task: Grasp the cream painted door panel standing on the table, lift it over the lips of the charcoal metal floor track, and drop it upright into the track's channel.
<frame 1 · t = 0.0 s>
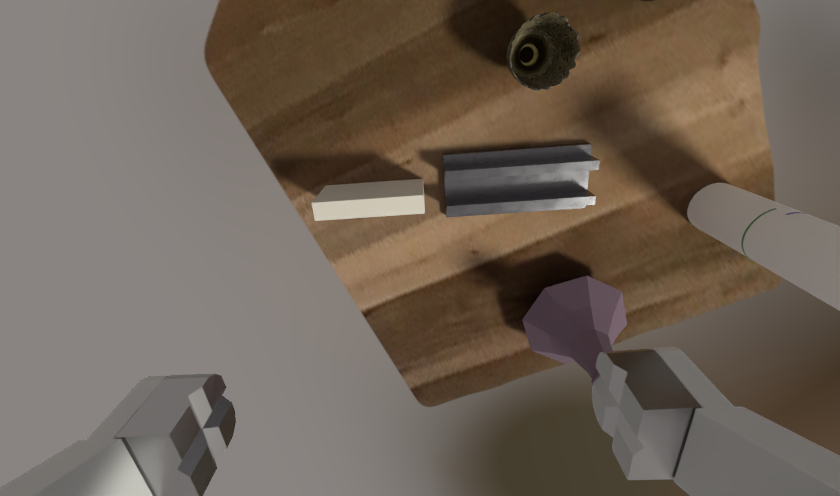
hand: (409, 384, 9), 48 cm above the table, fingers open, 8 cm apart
door panel: (375, 190, 56), on the table
dark olive rounded piece: (525, 54, 49), on the table
floor track: (514, 180, 56), on the table
cylindrical container: (711, 206, 57), on the table
flask: (565, 305, 65), on the table
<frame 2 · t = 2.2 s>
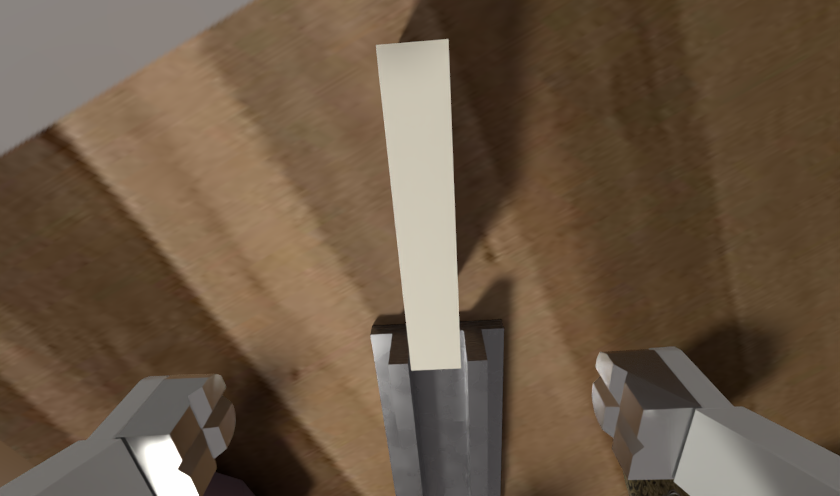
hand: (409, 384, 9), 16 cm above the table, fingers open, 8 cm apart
door panel: (426, 182, 23), on the table
dark olive rounded piece: (643, 423, 31), on the table
floor track: (443, 424, 31), on the table
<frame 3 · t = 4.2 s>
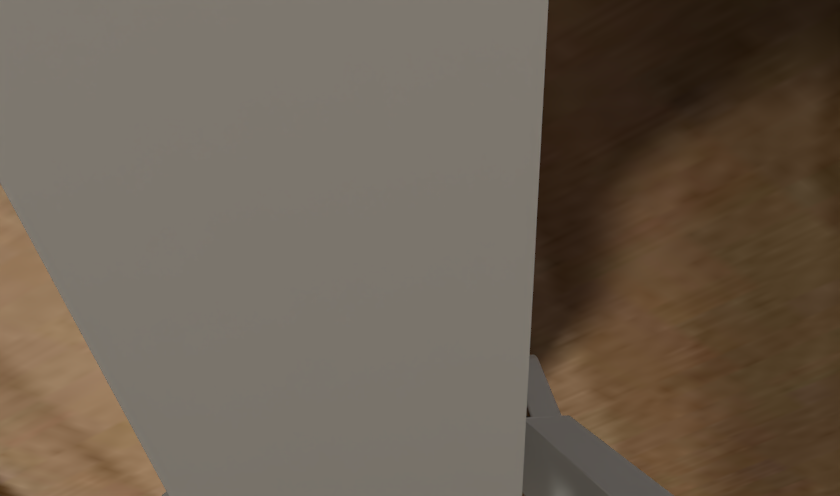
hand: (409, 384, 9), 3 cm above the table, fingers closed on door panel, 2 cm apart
door panel: (412, 303, 11), on the table, touching gripper
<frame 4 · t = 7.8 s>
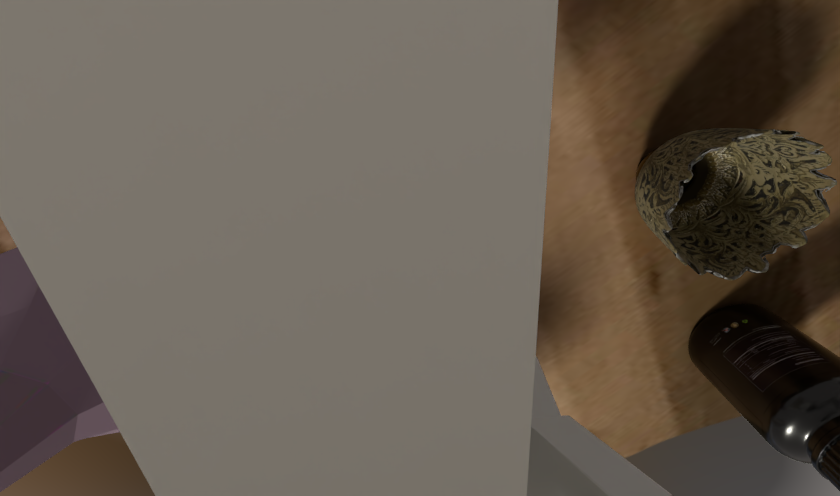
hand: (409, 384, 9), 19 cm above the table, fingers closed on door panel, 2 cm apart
door panel: (412, 305, 11), point 16 cm above the table, touching gripper
dark olive rounded piece: (657, 170, 26), on the table
supplement bottle: (726, 334, 32), on the table
flask: (144, 306, 30), on the table
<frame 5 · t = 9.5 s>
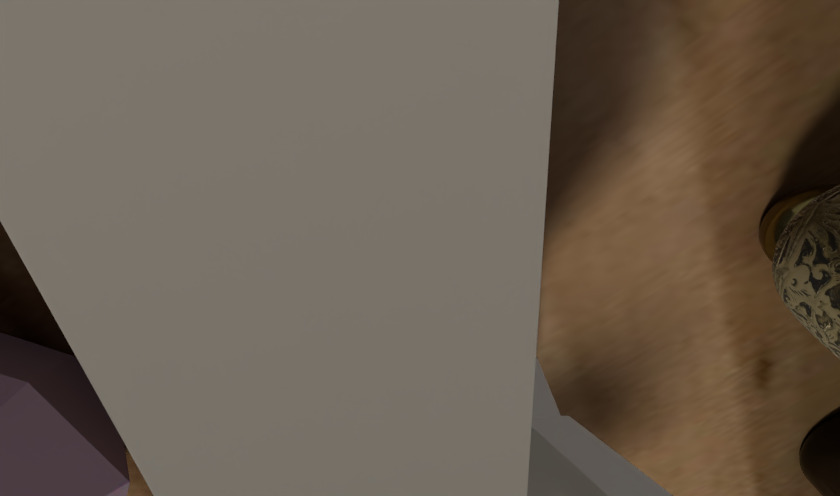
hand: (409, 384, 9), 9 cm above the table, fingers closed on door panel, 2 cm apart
door panel: (412, 306, 11), point 6 cm above the table, touching gripper
dark olive rounded piece: (791, 219, 17), on the table
flask: (35, 397, 22), on the table
when the fingers open (6 cm above the table, at t = 10.8 s): door panel drops 1 cm, resting on floor track.
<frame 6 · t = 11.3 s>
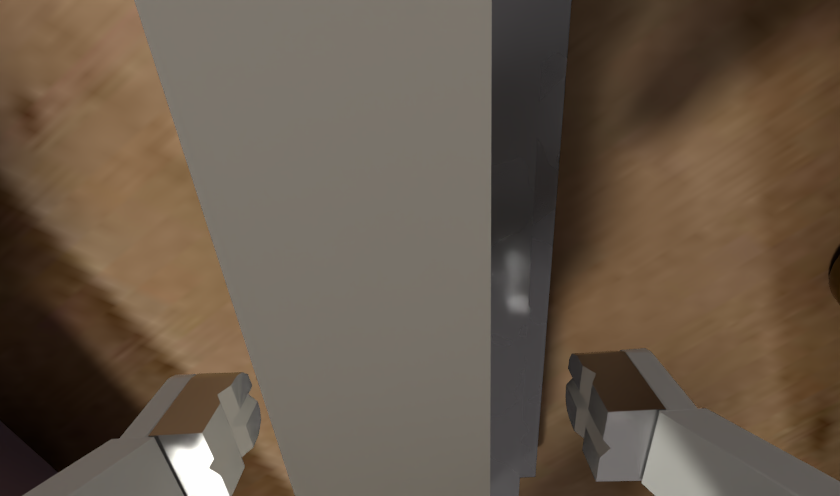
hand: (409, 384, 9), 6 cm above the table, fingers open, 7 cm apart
door panel: (413, 280, 13), point 1 cm above the table, touching floor track
floor track: (412, 266, 14), on the table
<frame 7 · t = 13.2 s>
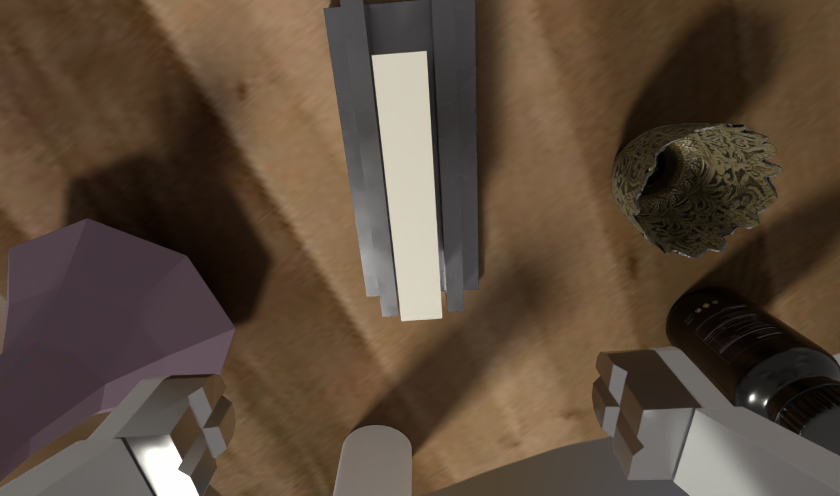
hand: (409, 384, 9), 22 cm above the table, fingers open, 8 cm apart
door panel: (413, 169, 27), point 1 cm above the table, touching floor track
dark olive rounded piece: (633, 162, 28), on the table
floor track: (412, 166, 28), on the table
cylindrical container: (377, 448, 40), on the table
supplement bottle: (701, 316, 34), on the table
flask: (158, 292, 33), on the table
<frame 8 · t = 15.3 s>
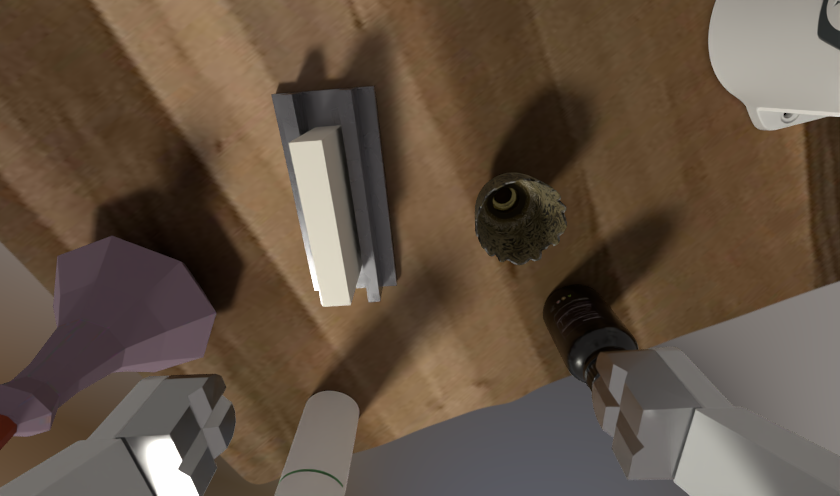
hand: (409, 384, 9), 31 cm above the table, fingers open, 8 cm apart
door panel: (341, 200, 38), point 1 cm above the table, touching floor track
dark olive rounded piece: (502, 194, 39), on the table
floor track: (342, 197, 39), on the table
cylindrical container: (332, 409, 52), on the table
supplement bottle: (570, 306, 45), on the table
flask: (161, 287, 44), on the table
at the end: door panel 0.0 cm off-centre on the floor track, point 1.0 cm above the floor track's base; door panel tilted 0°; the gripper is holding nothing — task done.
